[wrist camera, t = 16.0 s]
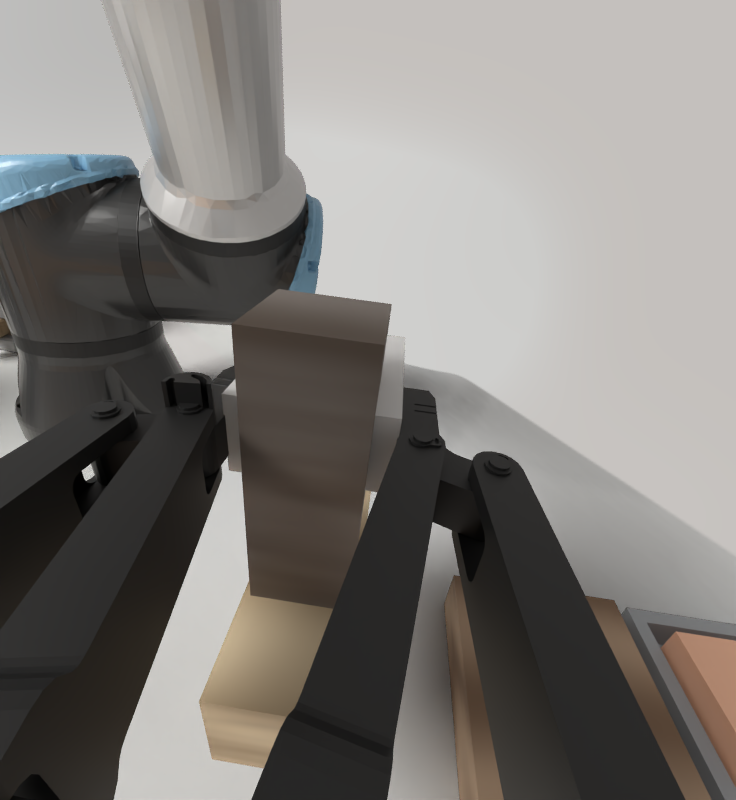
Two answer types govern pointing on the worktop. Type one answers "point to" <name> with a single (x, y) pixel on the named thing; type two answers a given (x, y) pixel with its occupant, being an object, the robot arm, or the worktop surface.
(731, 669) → the terracotta brick
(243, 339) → the dark wooden pillar
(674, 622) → the tray
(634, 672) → the board
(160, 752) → the worktop surface
